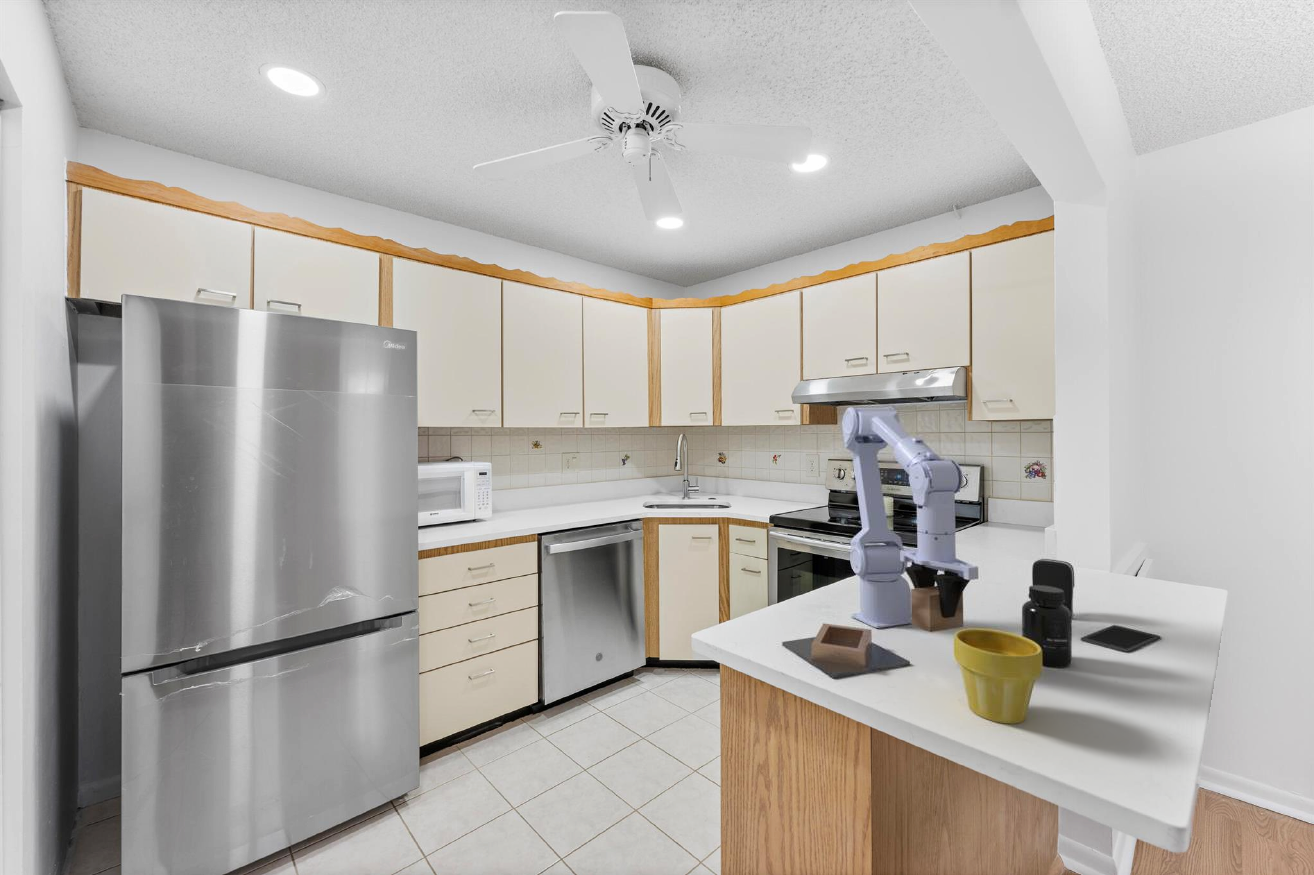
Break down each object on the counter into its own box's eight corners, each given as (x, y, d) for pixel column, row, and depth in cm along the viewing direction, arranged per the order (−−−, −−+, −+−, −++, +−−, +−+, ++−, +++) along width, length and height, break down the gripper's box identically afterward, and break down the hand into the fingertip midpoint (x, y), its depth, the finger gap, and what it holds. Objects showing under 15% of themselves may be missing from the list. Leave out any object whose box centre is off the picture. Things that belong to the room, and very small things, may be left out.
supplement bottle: (1058, 671, 87) (1056, 596, 87) (1013, 657, 94) (1012, 586, 94) (1081, 663, 91) (1079, 590, 91) (1036, 649, 97) (1035, 581, 97)
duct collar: (850, 634, 105) (850, 618, 105) (909, 664, 91) (909, 646, 91) (782, 645, 101) (781, 628, 101) (833, 678, 86) (832, 659, 86)
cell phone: (1162, 639, 101) (1162, 635, 101) (1128, 655, 94) (1128, 651, 94) (1114, 628, 107) (1114, 624, 107) (1078, 642, 101) (1078, 638, 101)
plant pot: (1058, 716, 74) (1056, 643, 74) (1021, 740, 68) (1019, 661, 68) (978, 687, 82) (977, 622, 82) (939, 707, 77) (938, 637, 77)
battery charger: (1076, 616, 114) (1075, 561, 114) (1072, 620, 111) (1071, 564, 111) (1036, 609, 119) (1035, 556, 119) (1031, 613, 116) (1030, 558, 116)
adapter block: (911, 624, 93) (911, 589, 93) (944, 619, 95) (943, 584, 95) (930, 632, 89) (929, 595, 89) (963, 626, 92) (962, 590, 92)
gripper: (885, 526, 98) (887, 603, 98) (953, 541, 84) (954, 629, 84) (917, 524, 100) (918, 598, 100) (988, 537, 87) (989, 623, 87)
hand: (937, 612), depth 92 cm, fingers closed on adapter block, 4 cm apart
